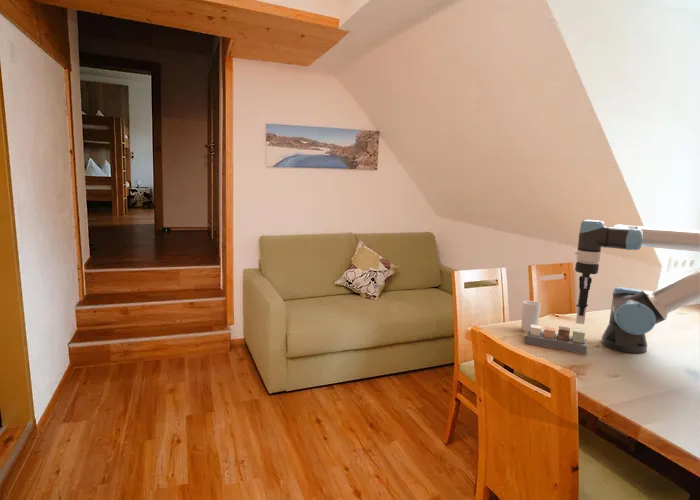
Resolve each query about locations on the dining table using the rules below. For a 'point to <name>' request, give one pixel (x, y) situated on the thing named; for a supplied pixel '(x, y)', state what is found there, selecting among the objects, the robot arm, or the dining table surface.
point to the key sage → (578, 335)
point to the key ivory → (535, 330)
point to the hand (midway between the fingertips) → (579, 323)
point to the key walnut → (563, 333)
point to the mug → (530, 314)
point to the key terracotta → (549, 332)
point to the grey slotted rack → (556, 343)
